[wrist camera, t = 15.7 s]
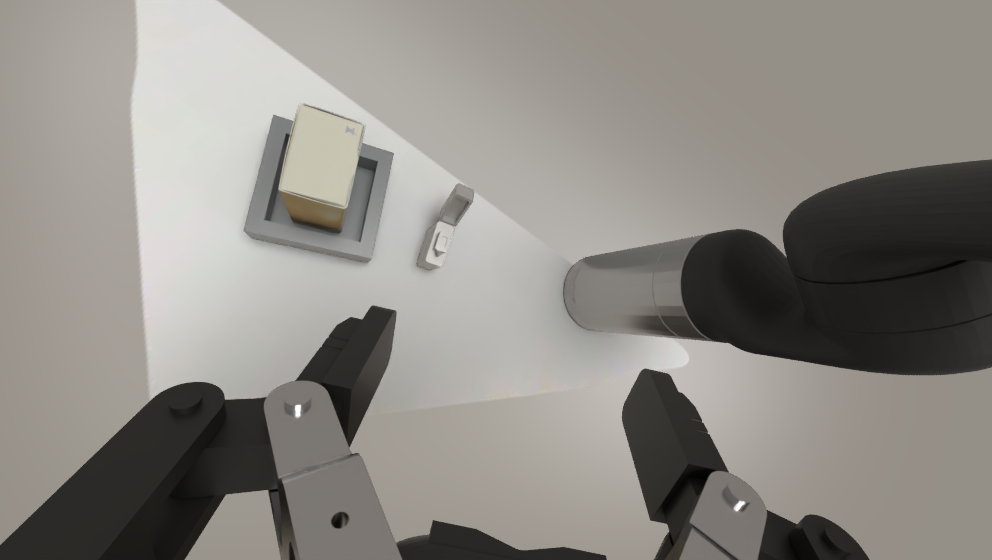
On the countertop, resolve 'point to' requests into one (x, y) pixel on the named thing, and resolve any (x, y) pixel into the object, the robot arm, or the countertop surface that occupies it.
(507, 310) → the countertop surface
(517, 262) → the countertop surface
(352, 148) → the skincare box
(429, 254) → the lighter
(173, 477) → the robot arm
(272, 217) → the holder
